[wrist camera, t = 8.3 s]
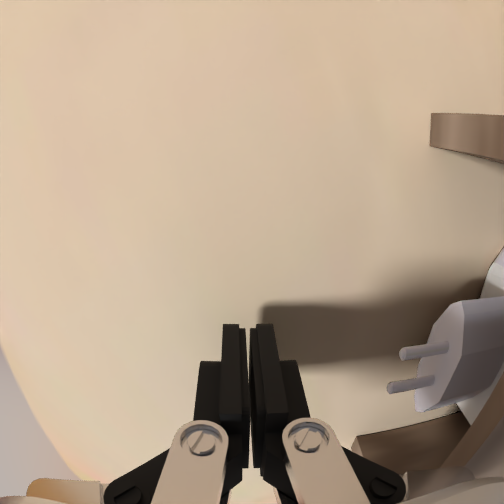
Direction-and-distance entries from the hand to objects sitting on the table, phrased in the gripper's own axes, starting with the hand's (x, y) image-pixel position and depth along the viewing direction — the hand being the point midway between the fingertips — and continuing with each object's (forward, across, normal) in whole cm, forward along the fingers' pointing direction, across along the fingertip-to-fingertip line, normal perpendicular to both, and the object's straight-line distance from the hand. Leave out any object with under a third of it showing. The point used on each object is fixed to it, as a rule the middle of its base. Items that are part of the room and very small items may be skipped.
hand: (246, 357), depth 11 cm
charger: (+2, -13, 0) cm, 13 cm away
